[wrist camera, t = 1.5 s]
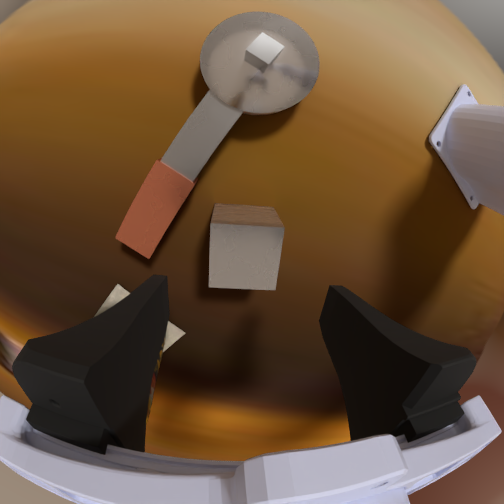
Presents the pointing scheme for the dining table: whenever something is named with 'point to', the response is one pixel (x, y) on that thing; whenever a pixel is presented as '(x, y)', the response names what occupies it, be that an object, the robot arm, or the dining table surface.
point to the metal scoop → (223, 111)
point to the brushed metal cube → (244, 247)
